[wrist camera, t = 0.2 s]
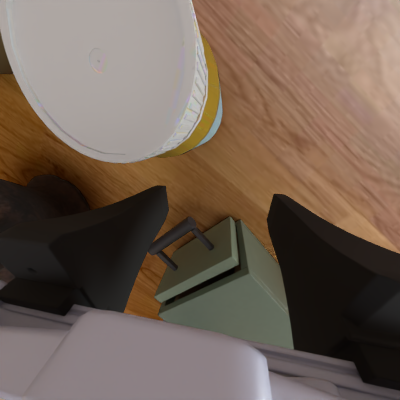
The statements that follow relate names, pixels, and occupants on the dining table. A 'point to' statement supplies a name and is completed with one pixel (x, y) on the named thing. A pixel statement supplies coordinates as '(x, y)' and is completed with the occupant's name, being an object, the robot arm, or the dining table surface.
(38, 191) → the jug
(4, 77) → the dining table surface
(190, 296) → the cabinet
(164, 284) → the drawer
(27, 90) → the bottle
